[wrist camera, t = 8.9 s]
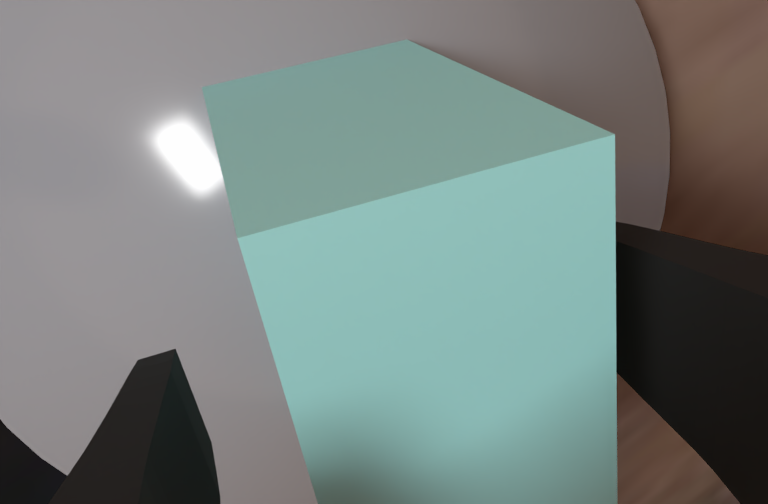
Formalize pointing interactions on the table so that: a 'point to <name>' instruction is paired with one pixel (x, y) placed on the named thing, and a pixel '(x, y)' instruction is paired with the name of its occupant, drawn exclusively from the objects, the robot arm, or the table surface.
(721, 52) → the table surface
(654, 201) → the plate
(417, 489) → the tall mint rectangular block
